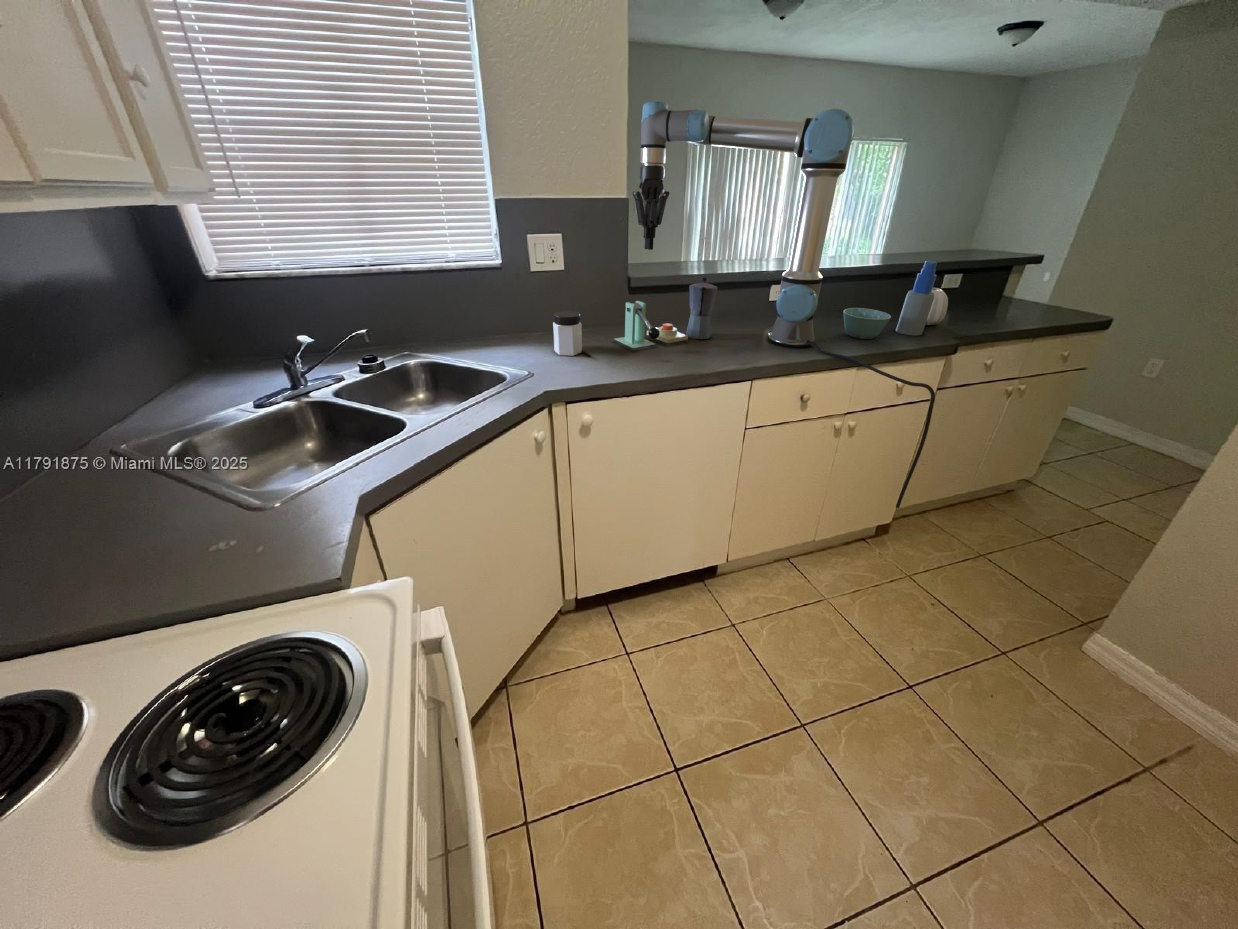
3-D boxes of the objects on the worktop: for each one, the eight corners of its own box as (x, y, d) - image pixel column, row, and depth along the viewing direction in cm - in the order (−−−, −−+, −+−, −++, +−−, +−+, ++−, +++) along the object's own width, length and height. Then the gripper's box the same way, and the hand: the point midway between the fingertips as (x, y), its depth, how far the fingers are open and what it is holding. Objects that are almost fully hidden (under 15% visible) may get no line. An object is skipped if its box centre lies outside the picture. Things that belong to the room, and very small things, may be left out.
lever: (659, 340, 154) (663, 331, 152) (650, 342, 153) (654, 333, 150) (636, 309, 161) (639, 300, 158) (627, 310, 159) (630, 301, 156)
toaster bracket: (655, 347, 162) (657, 304, 155) (633, 351, 158) (634, 308, 150) (635, 338, 170) (636, 297, 163) (613, 342, 166) (614, 300, 159)
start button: (674, 330, 167) (675, 325, 166) (666, 331, 165) (666, 326, 164) (668, 327, 170) (668, 322, 169) (660, 329, 168) (660, 324, 167)
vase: (911, 317, 204) (922, 283, 197) (947, 324, 195) (959, 289, 188) (896, 322, 196) (907, 287, 190) (933, 329, 187) (945, 293, 180)
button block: (687, 342, 167) (688, 331, 165) (666, 346, 163) (667, 334, 161) (666, 334, 176) (667, 322, 174) (646, 337, 172) (646, 326, 170)
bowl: (893, 337, 176) (900, 314, 172) (868, 344, 169) (875, 320, 164) (854, 327, 187) (860, 306, 183) (829, 333, 180) (834, 311, 176)
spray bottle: (897, 327, 189) (918, 258, 176) (923, 331, 185) (946, 261, 172) (894, 332, 182) (916, 261, 170) (921, 336, 178) (945, 264, 166)
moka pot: (710, 332, 179) (717, 274, 169) (713, 344, 166) (720, 283, 156) (684, 330, 180) (689, 273, 170) (685, 343, 167) (691, 281, 156)
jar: (585, 354, 154) (584, 316, 148) (561, 357, 151) (559, 318, 145) (575, 346, 161) (574, 309, 155) (551, 349, 158) (549, 311, 152)
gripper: (662, 165, 154) (657, 246, 166) (627, 164, 147) (626, 248, 160) (677, 165, 148) (671, 249, 160) (642, 164, 142) (638, 251, 154)
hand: (648, 249), depth 160 cm, fingers closed
